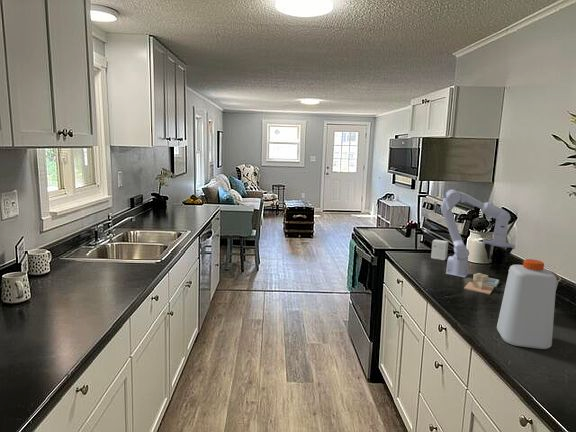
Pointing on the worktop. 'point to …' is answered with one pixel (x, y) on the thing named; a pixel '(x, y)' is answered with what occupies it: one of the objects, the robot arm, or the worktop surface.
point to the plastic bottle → (528, 306)
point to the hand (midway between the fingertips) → (496, 260)
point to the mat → (486, 290)
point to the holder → (492, 281)
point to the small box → (439, 249)
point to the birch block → (480, 281)
